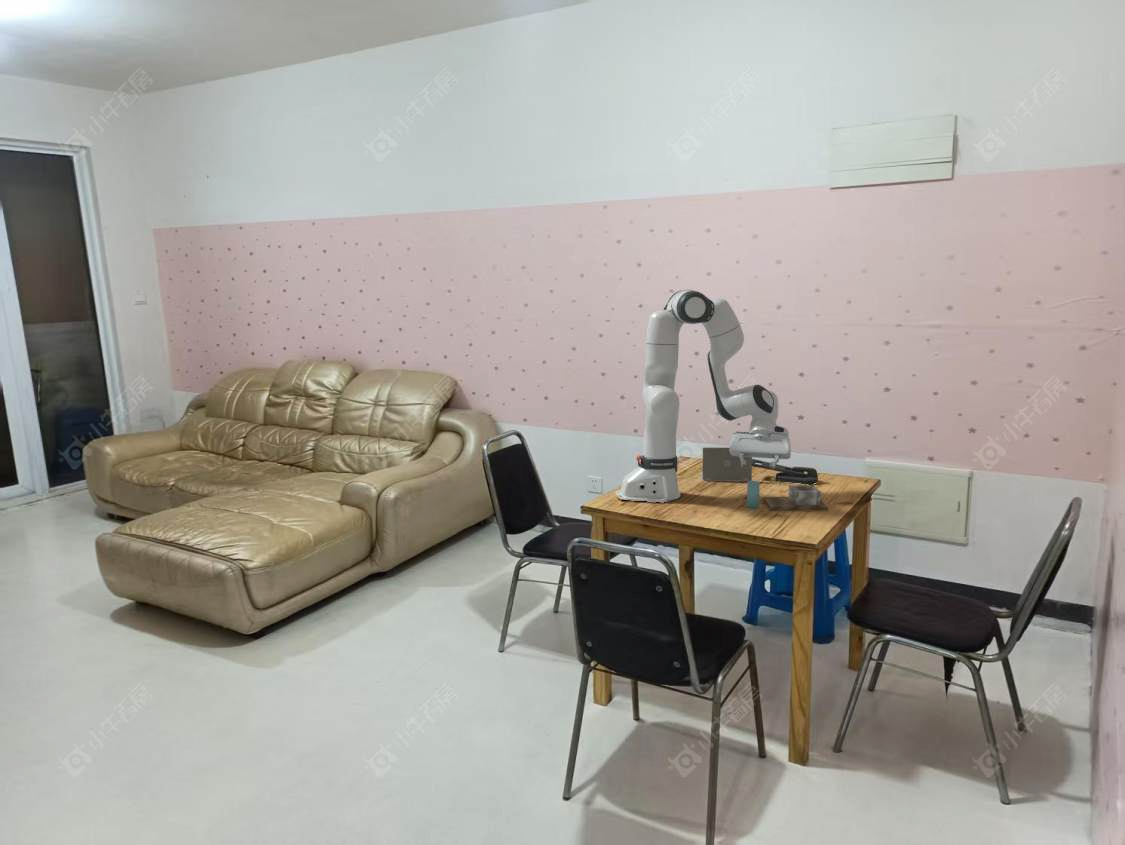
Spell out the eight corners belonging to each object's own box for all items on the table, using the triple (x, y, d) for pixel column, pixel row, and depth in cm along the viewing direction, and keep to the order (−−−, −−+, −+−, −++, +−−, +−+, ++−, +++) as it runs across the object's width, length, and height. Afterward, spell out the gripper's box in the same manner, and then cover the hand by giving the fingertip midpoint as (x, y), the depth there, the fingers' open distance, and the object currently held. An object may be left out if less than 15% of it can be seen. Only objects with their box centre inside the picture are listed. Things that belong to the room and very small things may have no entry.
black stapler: (750, 458, 292) (819, 462, 282) (750, 474, 293) (818, 480, 283) (746, 463, 284) (816, 468, 274) (746, 480, 285) (816, 486, 275)
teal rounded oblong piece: (748, 509, 248) (748, 483, 246) (745, 505, 251) (746, 480, 250) (760, 509, 248) (760, 483, 246) (757, 505, 251) (758, 480, 250)
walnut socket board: (771, 510, 245) (771, 493, 244) (762, 500, 257) (763, 484, 256) (827, 510, 245) (828, 493, 244) (816, 500, 256) (817, 483, 255)
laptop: (747, 474, 295) (748, 441, 293) (751, 482, 283) (752, 447, 280) (700, 473, 297) (700, 441, 295) (702, 481, 285) (702, 447, 282)
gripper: (730, 426, 264) (725, 459, 257) (792, 429, 256) (788, 463, 249) (732, 436, 269) (727, 469, 262) (793, 439, 261) (789, 474, 254)
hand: (757, 466), depth 255 cm, fingers open, 8 cm apart
